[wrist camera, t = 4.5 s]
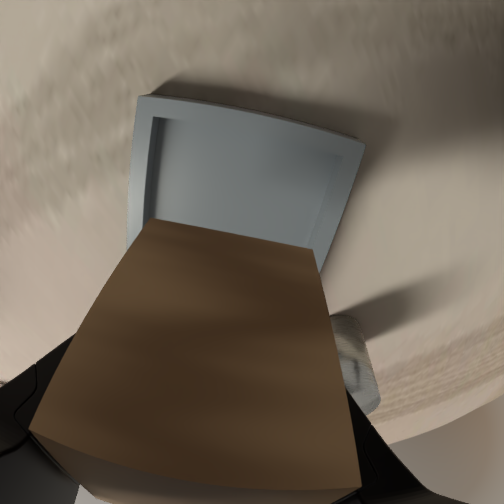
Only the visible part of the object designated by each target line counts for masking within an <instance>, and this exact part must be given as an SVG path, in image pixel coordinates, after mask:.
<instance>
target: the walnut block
mask: <svg viewBox="0 0 504 504" xmlns="http://www.w3.org/2000/svg"><path fill="white" fill-rule="evenodd" d="M29 430H30V431H31V433H32V434H33V435H34V436H35V437H36V439H37V440H38V441H39V442H40V443H41V444H42V446H43V447H44V448H45V449H46V450H47V451H48V452H49V453H50V454H51V455H52V457H53V458H54V459H55V460H56V461H57V462H58V463H59V464H60V465H61V466H62V467H63V468H64V469H65V470H66V471H67V472H68V473H69V474H70V475H71V476H72V477H73V478H74V479H75V480H76V481H77V482H78V483H80V484H81V485H82V486H83V487H84V488H85V489H86V490H88V492H90V493H91V494H92V495H93V496H94V497H95V498H97V499H100V500H103V501H106V502H109V503H112V504H331V503H333V502H335V501H337V500H338V499H340V498H342V497H344V496H346V495H348V494H349V493H351V492H353V491H355V490H357V489H358V488H360V487H362V484H361V477H360V470H359V463H358V457H357V451H356V445H355V439H354V433H353V427H352V421H351V416H350V411H349V405H348V400H347V395H346V390H345V385H344V380H343V375H342V370H341V365H340V360H339V356H338V351H337V347H336V342H335V338H334V333H333V329H332V324H331V320H330V316H329V312H328V308H327V303H326V299H325V295H324V291H323V287H322V283H321V279H320V275H319V271H318V268H317V264H316V260H315V256H314V252H313V249H308V248H303V247H298V246H294V245H289V244H284V243H279V242H274V241H269V240H264V239H259V238H254V237H249V236H244V235H239V234H234V233H229V232H223V231H218V230H213V229H208V228H203V227H198V226H192V225H187V224H182V223H177V222H172V221H166V220H161V219H156V218H150V219H149V220H148V222H147V223H146V224H145V226H144V227H143V229H142V230H141V231H140V233H139V234H138V236H137V237H136V239H135V240H134V241H133V243H132V244H131V246H130V247H129V249H128V250H127V252H126V253H125V255H124V256H123V258H122V259H121V261H120V262H119V264H118V265H117V267H116V268H115V270H114V271H113V273H112V274H111V276H110V278H109V279H108V281H107V282H106V284H105V285H104V287H103V289H102V290H101V292H100V294H99V295H98V297H97V298H96V300H95V302H94V303H93V305H92V307H91V308H90V310H89V312H88V313H87V315H86V317H85V318H84V320H83V322H82V324H81V325H80V327H79V329H78V331H77V332H76V334H75V336H74V338H73V340H72V341H71V343H70V345H69V347H68V349H67V350H66V352H65V354H64V356H63V358H62V360H61V362H60V364H59V366H58V367H57V369H56V371H55V373H54V375H53V377H52V379H51V381H50V383H49V385H48V387H47V389H46V391H45V394H44V396H43V398H42V400H41V402H40V404H39V406H38V408H37V411H36V413H35V415H34V417H33V420H32V422H31V424H30V426H29Z"/></svg>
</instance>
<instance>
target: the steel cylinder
mask: <svg viewBox="0 0 504 504" xmlns="http://www.w3.org/2000/svg"><path fill="white" fill-rule="evenodd" d="M330 320H331V324H332V329H333V333H334V338H335V342H336V347H337V351H338V356H339V360H340V365H341V370H342V375H343V380H344V385H345V387H346V388H347V390H348V391H349V393H350V394H351V396H352V397H353V398H354V400H355V401H356V403H357V404H358V405H359V407H360V408H361V410H362V411H363V412H364V414H365V415H368V414H369V413H371V412H372V411H374V410H375V409H376V408H377V407H378V405H379V403H380V400H381V398H380V394H379V390H378V386H377V383H376V379H375V375H374V372H373V368H372V365H371V361H370V358H369V354H368V351H367V347H366V344H365V341H364V337H363V334H362V331H361V328H360V325H359V323H358V322H357V321H356V320H355V319H354V318H352V317H349V316H346V315H333V316H330Z"/></svg>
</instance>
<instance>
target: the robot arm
mask: <svg viewBox="0 0 504 504" xmlns="http://www.w3.org/2000/svg"><path fill="white" fill-rule="evenodd" d="M75 334H76V333H75ZM75 334H74V335H72V336H71V337H70V338H68V339H67V340H66V341H64V342H63V343H62V344H60V345H59V346H57V347H56V348H55V349H53V350H52V351H51V352H49V353H48V354H47V355H45V356H44V357H43V358H41V359H40V360H39V361H37V362H36V364H33V365H32V366H30V367H29V368H28V369H26V370H25V371H24V372H22V373H21V374H19V375H18V376H17V377H15V378H14V379H12V380H11V381H9V382H8V383H6V384H5V385H3V386H1V387H0V504H74V503H75V499H76V496H77V493H78V489H79V485H80V483H78V482H77V481H76V480H75V479H74V478H73V477H72V476H71V475H70V474H69V473H68V472H67V471H66V470H65V469H64V468H63V467H62V466H61V465H60V464H59V463H58V462H57V461H56V460H55V459H54V458H53V457H52V455H51V454H50V453H49V452H48V451H47V450H46V449H45V448H44V447H43V446H42V444H41V443H40V442H39V441H38V440H37V439H36V437H35V436H34V435H33V434H32V433H31V431H30V430H29V426H30V424H31V422H32V420H33V417H34V415H35V413H36V411H37V408H38V406H39V404H40V402H41V400H42V398H43V396H44V394H45V391H46V389H47V387H48V385H49V383H50V381H51V379H52V377H53V375H54V373H55V371H56V369H57V367H58V366H59V364H60V362H61V360H62V358H63V356H64V354H65V352H66V350H67V349H68V347H69V345H70V343H71V341H72V340H73V338H74V336H75ZM345 390H346V395H347V400H348V405H349V411H350V416H351V421H352V427H353V433H354V439H355V445H356V451H357V457H358V463H359V470H360V477H361V484H362V487H360V488H358V489H357V490H355V491H353V492H351V493H349V494H348V495H346V496H344V497H342V498H340V499H338V500H337V501H335V502H333V503H331V504H468V503H465V502H461V501H458V500H454V499H451V498H448V497H445V496H442V495H439V494H436V493H434V492H432V491H430V490H429V489H427V488H426V487H425V486H424V485H422V484H421V483H420V482H419V480H418V479H417V478H416V477H415V476H414V475H413V474H412V473H411V472H410V471H409V469H408V468H407V467H406V466H405V465H404V464H403V463H402V462H401V461H400V460H399V459H398V457H397V456H396V455H395V454H394V453H393V451H392V450H391V449H390V448H389V447H388V445H387V444H386V443H385V441H384V440H383V439H382V437H381V436H380V435H379V433H378V432H377V431H376V429H375V428H374V426H373V425H371V422H370V421H369V419H368V418H367V417H366V415H365V414H364V412H363V411H362V410H361V408H360V407H359V405H358V404H357V403H356V401H355V400H354V398H353V397H352V396H351V394H350V393H349V391H348V390H347V388H346V387H345Z"/></svg>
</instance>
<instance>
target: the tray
mask: <svg viewBox="0 0 504 504" xmlns="http://www.w3.org/2000/svg"><path fill="white" fill-rule="evenodd" d="M365 147H366V144H365V143H363V142H362V141H360V140H359V139H357V138H355V137H352V136H349V135H345V134H342V133H339V132H336V131H333V130H329V129H326V128H322V127H319V126H315V125H312V124H308V123H305V122H301V121H297V120H293V119H289V118H285V117H281V116H277V115H273V114H268V113H264V112H260V111H255V110H250V109H245V108H240V107H235V106H230V105H225V104H219V103H213V102H207V101H201V100H194V99H187V98H180V97H172V96H164V95H155V94H147V95H141V96H138V100H137V107H136V115H135V123H134V131H133V140H132V150H131V162H130V175H129V191H128V213H127V250H128V249H129V247H130V246H131V244H132V243H133V241H134V240H135V239H136V237H137V236H138V234H139V233H140V231H141V230H142V229H143V227H144V226H145V224H146V223H147V222H148V220H149V219H150V218H156V219H161V220H166V221H172V222H177V223H182V224H187V225H192V226H198V227H203V228H208V229H213V230H218V231H223V232H229V233H234V234H239V235H244V236H249V237H254V238H259V239H264V240H269V241H274V242H279V243H284V244H289V245H294V246H298V247H303V248H308V249H313V252H314V256H315V260H316V264H317V268H318V271H319V273H320V271H321V268H322V266H323V263H324V261H325V258H326V256H327V253H328V251H329V248H330V245H331V243H332V240H333V238H334V235H335V232H336V230H337V227H338V224H339V222H340V219H341V216H342V214H343V211H344V208H345V205H346V203H347V200H348V197H349V194H350V191H351V189H352V186H353V183H354V180H355V177H356V174H357V171H358V168H359V165H360V162H361V159H362V156H363V153H364V150H365Z"/></svg>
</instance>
